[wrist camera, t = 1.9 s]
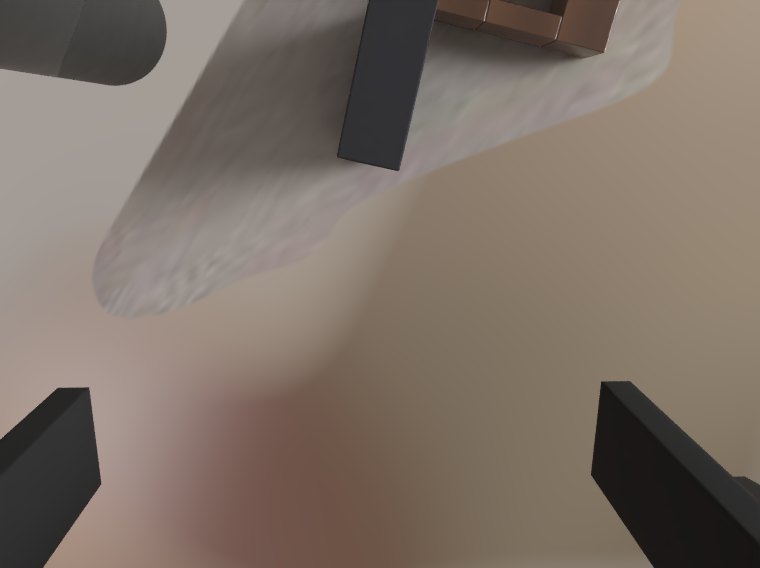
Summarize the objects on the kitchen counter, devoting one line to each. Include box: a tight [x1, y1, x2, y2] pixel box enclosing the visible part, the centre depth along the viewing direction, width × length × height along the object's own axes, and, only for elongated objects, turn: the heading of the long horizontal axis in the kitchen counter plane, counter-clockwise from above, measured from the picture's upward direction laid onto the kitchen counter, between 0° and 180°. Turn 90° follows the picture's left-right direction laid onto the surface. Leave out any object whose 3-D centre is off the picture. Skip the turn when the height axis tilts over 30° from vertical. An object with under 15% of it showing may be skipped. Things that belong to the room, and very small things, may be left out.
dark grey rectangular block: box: [337, 0, 439, 171], centre depth 32 cm, size 3×8×10 cm, turn 167°
